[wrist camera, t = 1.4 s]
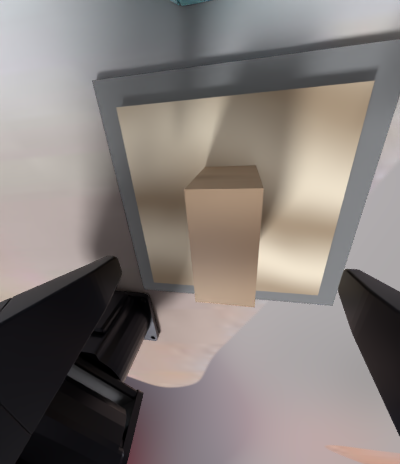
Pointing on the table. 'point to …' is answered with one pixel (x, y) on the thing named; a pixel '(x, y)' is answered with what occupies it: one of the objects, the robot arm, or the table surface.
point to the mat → (255, 81)
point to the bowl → (187, 2)
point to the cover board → (284, 169)
